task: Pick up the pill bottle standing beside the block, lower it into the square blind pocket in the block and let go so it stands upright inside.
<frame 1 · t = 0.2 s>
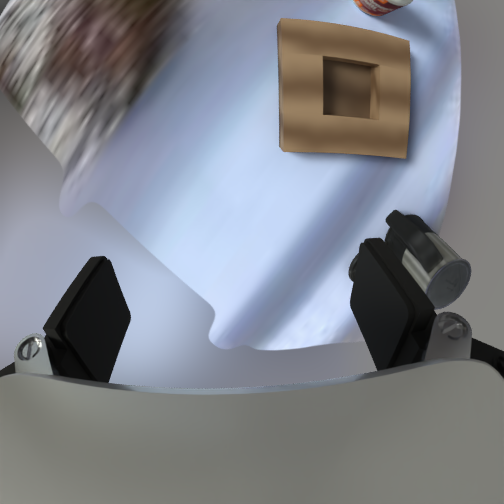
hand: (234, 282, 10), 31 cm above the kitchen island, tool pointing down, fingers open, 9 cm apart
milk frother: (386, 246, 46), on the kitchen island
pill bottle: (368, 0, 25), on the kitchen island
socket block: (342, 88, 33), on the kitchen island
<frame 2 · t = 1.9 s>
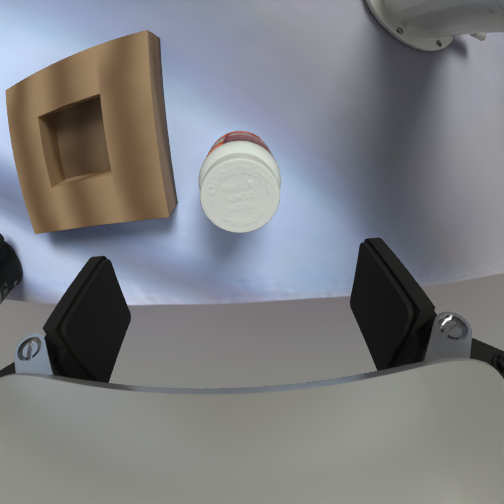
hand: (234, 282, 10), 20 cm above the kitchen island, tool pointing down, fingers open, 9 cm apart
pill bottle: (239, 159, 27), on the kitchen island
socket block: (90, 136, 25), on the kitchen island
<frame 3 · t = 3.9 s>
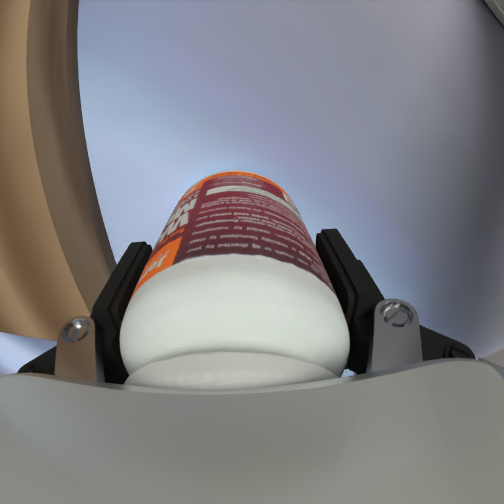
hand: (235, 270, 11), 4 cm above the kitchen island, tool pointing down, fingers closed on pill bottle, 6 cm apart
pill bottle: (236, 226, 14), on the kitchen island, touching gripper
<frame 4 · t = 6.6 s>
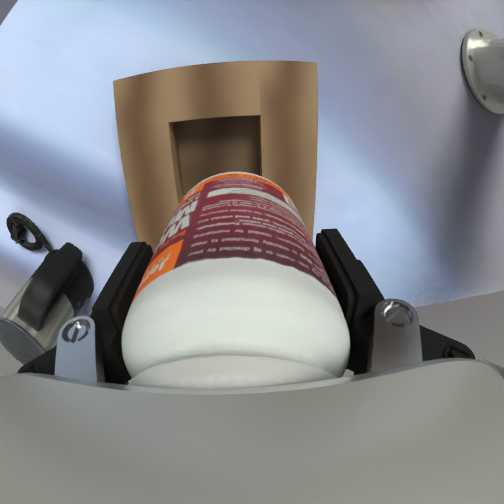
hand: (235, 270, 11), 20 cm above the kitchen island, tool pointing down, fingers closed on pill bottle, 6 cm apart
milk frother: (51, 254, 33), on the kitchen island
pill bottle: (237, 228, 14), point 16 cm above the kitchen island, touching gripper
socket block: (219, 153, 27), on the kitchen island
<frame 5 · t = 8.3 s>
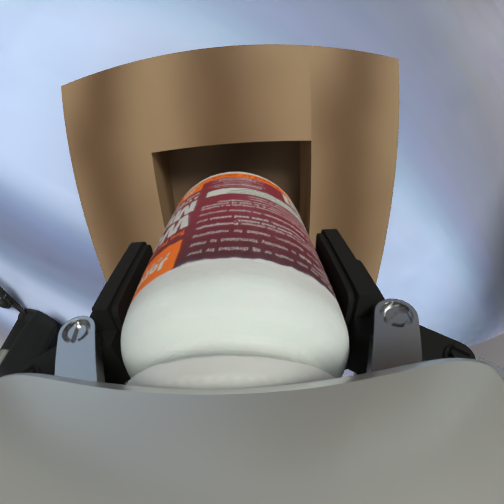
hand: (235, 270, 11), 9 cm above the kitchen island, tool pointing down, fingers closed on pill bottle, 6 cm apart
milk frother: (25, 312, 24), on the kitchen island
pill bottle: (236, 228, 14), point 5 cm above the kitchen island, touching gripper
socket block: (236, 193, 18), on the kitchen island
when the fingers open (5 cm above the kitchen island, at t = 9.4 s): pill bottle stays where it is, resting on socket block.
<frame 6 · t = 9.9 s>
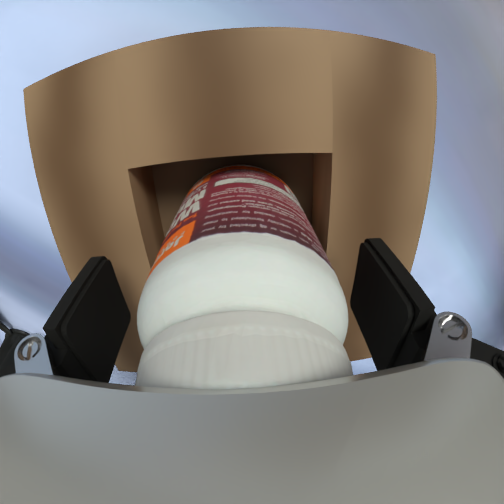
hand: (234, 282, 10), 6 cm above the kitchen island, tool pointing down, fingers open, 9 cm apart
milk frother: (12, 331, 21), on the kitchen island
pill bottle: (240, 218, 15), point 1 cm above the kitchen island, touching socket block
socket block: (236, 213, 15), on the kitchen island
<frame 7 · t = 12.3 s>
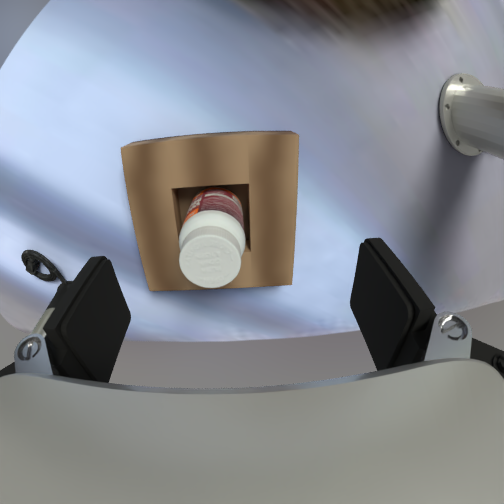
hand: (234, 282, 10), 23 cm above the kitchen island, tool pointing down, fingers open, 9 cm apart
milk frother: (64, 284, 38), on the kitchen island
pill bottle: (216, 210, 33), point 1 cm above the kitchen island, touching socket block
socket block: (214, 207, 33), on the kitchen island
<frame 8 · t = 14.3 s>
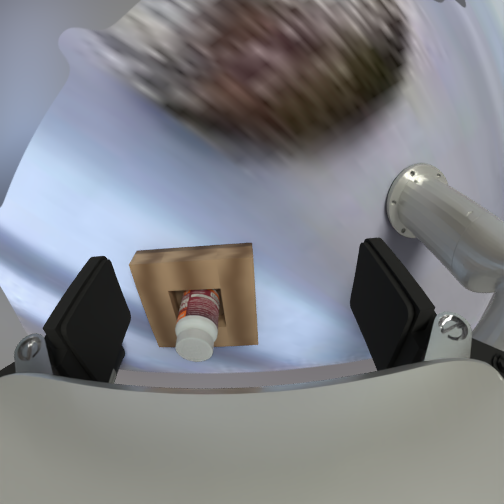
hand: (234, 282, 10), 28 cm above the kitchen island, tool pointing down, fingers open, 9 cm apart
pill bottle: (201, 296, 45), point 1 cm above the kitchen island, touching socket block
socket block: (200, 293, 46), on the kitchen island
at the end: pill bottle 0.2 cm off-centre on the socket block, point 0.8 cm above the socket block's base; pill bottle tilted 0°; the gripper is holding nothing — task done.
